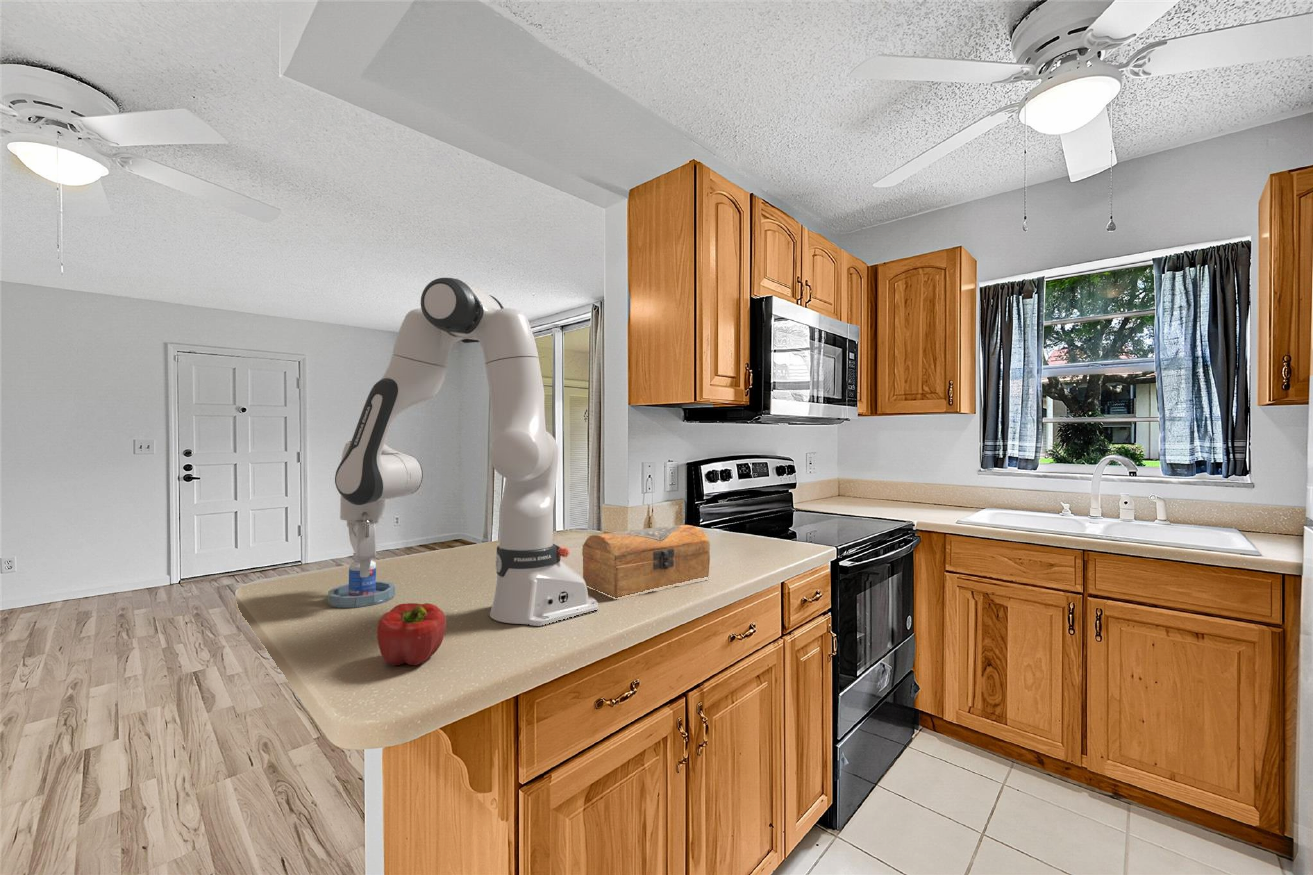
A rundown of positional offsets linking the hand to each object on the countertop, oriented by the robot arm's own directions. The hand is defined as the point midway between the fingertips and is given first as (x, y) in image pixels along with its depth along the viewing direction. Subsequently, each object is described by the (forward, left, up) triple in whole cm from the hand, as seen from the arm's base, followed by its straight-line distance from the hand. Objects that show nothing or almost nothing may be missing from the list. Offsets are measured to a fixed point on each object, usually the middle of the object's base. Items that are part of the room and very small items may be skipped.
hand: (362, 571), depth 122 cm
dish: (0, 0, -6) cm, 6 cm away
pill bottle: (0, 0, -6) cm, 6 cm away
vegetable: (-4, +42, -6) cm, 43 cm away
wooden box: (-62, +22, -6) cm, 66 cm away
